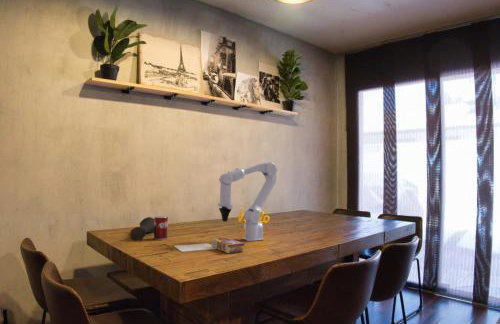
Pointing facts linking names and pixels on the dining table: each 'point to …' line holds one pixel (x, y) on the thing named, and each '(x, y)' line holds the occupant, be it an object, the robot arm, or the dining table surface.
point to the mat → (194, 247)
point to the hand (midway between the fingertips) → (224, 221)
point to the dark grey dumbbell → (143, 229)
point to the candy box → (228, 245)
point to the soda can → (160, 227)
